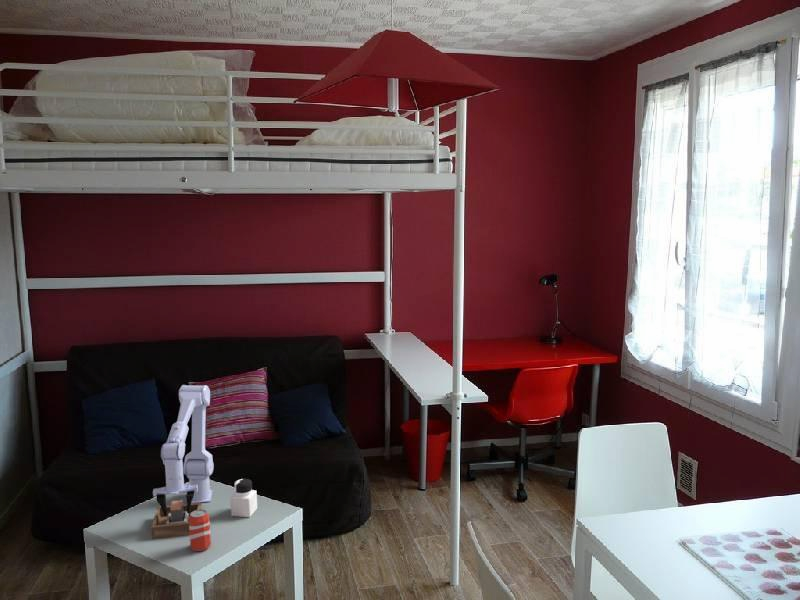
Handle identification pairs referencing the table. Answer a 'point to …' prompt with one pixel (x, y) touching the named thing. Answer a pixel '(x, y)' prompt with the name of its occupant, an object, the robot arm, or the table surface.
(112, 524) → the table surface
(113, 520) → the table surface
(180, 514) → the rectangular block
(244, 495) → the medicine bottle
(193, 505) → the walled box
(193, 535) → the beverage can
